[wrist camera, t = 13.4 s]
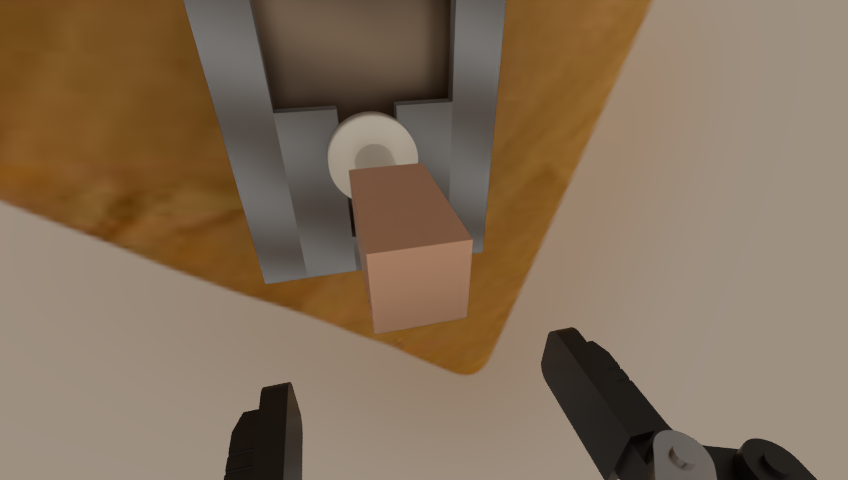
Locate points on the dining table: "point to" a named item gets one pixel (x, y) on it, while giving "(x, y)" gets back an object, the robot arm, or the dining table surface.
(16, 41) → the dining table surface
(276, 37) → the keyhole plate
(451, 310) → the keyhole peg
